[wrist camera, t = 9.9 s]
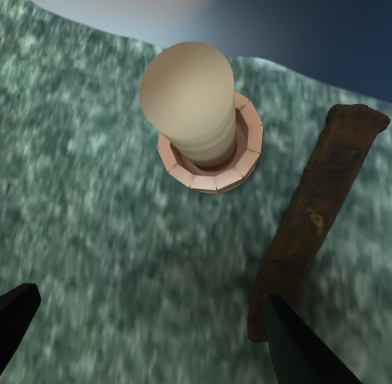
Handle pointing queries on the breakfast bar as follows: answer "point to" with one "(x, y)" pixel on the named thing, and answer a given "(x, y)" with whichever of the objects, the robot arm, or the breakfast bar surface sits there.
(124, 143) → the breakfast bar surface
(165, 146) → the terracotta cup
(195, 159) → the birch peg
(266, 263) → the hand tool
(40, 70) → the breakfast bar surface
